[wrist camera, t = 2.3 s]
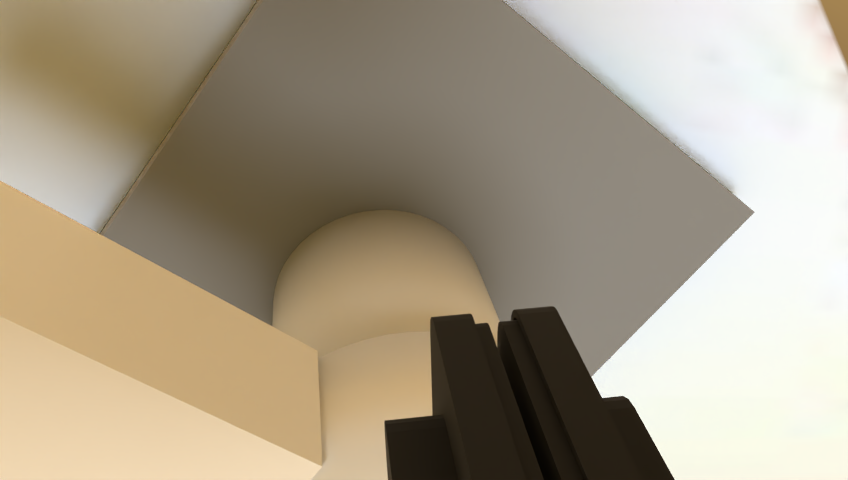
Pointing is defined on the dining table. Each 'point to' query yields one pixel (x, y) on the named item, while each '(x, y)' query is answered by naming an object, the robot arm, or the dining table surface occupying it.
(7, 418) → the cream piece
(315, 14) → the base
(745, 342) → the dining table surface
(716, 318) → the dining table surface
